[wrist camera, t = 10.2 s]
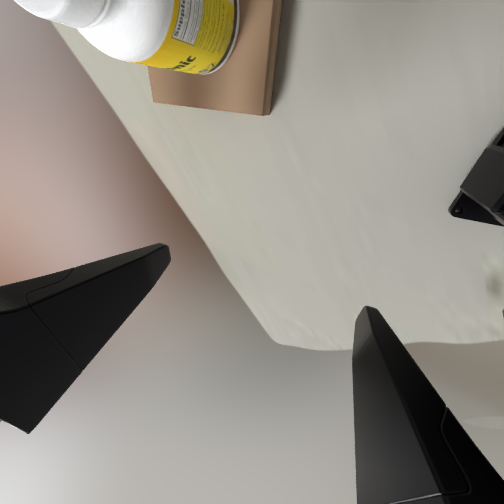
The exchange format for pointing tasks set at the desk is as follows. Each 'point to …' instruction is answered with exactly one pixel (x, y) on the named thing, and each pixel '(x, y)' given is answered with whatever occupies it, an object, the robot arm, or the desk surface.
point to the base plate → (231, 68)
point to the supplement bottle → (151, 29)
